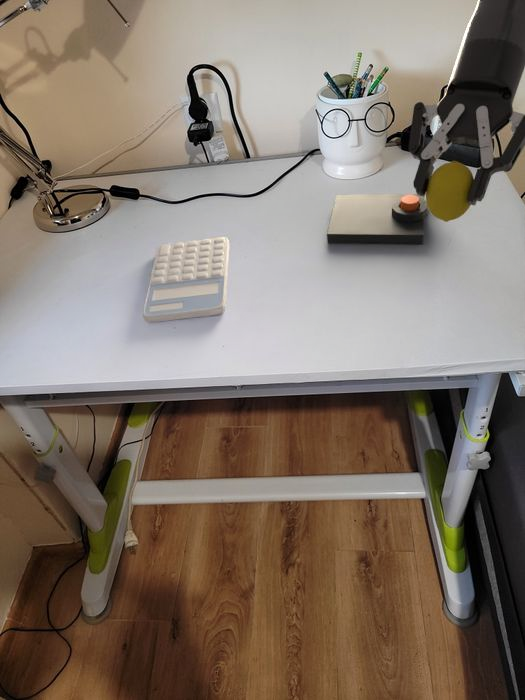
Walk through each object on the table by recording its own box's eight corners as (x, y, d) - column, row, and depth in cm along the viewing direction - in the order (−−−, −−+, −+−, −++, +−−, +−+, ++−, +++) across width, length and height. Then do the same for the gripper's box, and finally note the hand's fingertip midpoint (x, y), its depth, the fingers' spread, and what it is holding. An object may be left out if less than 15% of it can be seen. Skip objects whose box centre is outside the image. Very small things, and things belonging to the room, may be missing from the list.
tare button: (418, 202, 88) (419, 194, 87) (418, 211, 86) (419, 203, 85) (401, 202, 89) (401, 194, 88) (400, 211, 87) (400, 203, 86)
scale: (426, 203, 93) (428, 185, 91) (425, 244, 85) (427, 226, 82) (336, 203, 97) (335, 187, 95) (327, 243, 89) (326, 226, 86)
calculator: (230, 242, 93) (228, 233, 92) (225, 315, 79) (223, 306, 78) (159, 251, 94) (157, 242, 93) (143, 324, 80) (139, 316, 79)
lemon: (421, 232, 64) (427, 173, 58) (425, 208, 67) (431, 150, 61) (468, 234, 62) (479, 173, 56) (469, 209, 66) (480, 150, 60)
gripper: (425, 33, 58) (380, 179, 61) (563, 37, 52) (506, 201, 54) (437, 66, 65) (395, 197, 67) (560, 73, 58) (509, 218, 61)
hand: (445, 198), depth 61 cm, fingers closed on lemon, 5 cm apart
